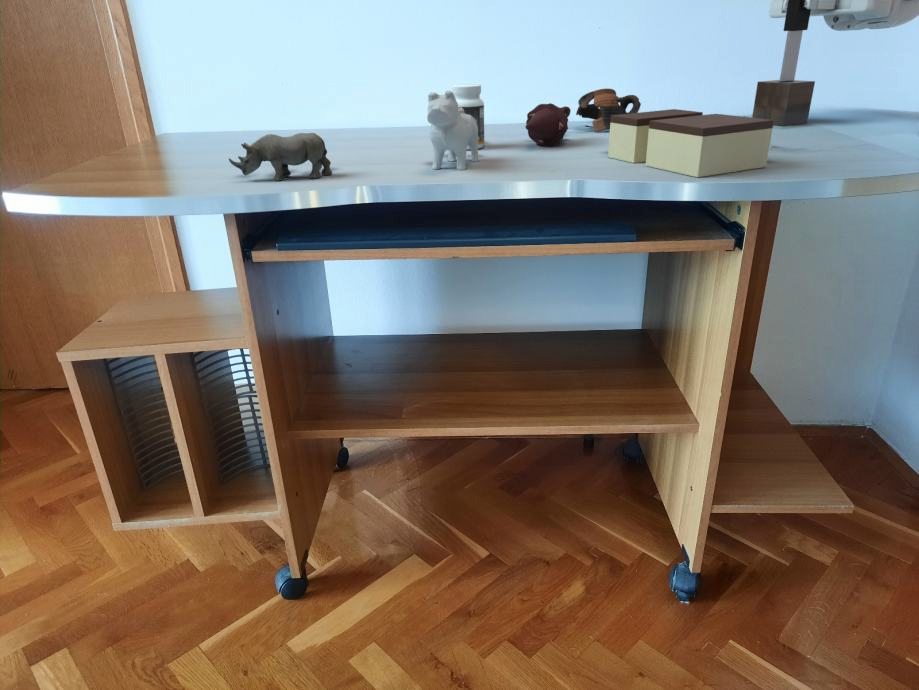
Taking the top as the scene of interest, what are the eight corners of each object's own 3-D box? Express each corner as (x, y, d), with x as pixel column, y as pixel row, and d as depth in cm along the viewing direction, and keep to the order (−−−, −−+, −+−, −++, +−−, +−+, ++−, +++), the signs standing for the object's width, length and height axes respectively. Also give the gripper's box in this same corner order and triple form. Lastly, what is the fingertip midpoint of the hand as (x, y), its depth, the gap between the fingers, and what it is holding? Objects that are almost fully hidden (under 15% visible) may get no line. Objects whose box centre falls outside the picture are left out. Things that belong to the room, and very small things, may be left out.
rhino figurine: (235, 178, 91) (227, 134, 89) (332, 172, 93) (327, 129, 90) (230, 184, 88) (222, 139, 85) (331, 178, 89) (326, 133, 87)
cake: (766, 167, 86) (774, 120, 83) (697, 177, 81) (703, 128, 79) (710, 156, 94) (716, 113, 91) (645, 165, 89) (649, 120, 87)
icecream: (553, 110, 98) (589, 109, 110) (512, 97, 101) (552, 97, 113) (540, 155, 102) (577, 149, 113) (501, 141, 104) (541, 136, 116)
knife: (798, 80, 112) (817, -24, 105) (786, 81, 111) (804, -24, 104) (787, 80, 114) (804, -23, 107) (775, 81, 113) (791, -23, 106)
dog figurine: (421, 174, 90) (415, 93, 85) (449, 158, 100) (446, 85, 96) (457, 175, 88) (453, 92, 83) (482, 158, 99) (480, 84, 94)
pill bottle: (449, 150, 107) (446, 87, 103) (454, 145, 112) (451, 84, 108) (482, 150, 106) (481, 86, 102) (486, 144, 111) (485, 83, 107)
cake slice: (697, 154, 96) (703, 112, 93) (633, 163, 91) (637, 119, 89) (670, 149, 101) (674, 109, 98) (607, 157, 96) (610, 115, 94)
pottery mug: (579, 135, 120) (571, 93, 121) (584, 151, 129) (577, 112, 130) (644, 117, 117) (635, 74, 117) (645, 134, 126) (637, 94, 127)
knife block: (806, 129, 115) (815, 81, 111) (782, 132, 112) (790, 83, 109) (773, 125, 120) (781, 79, 117) (750, 128, 118) (757, 81, 115)
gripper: (803, -13, 120) (749, -12, 114) (914, -24, 103) (856, -24, 98) (797, 25, 122) (744, 27, 117) (904, 20, 105) (847, 22, 100)
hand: (796, 4), depth 107 cm, fingers closed on knife, 2 cm apart
